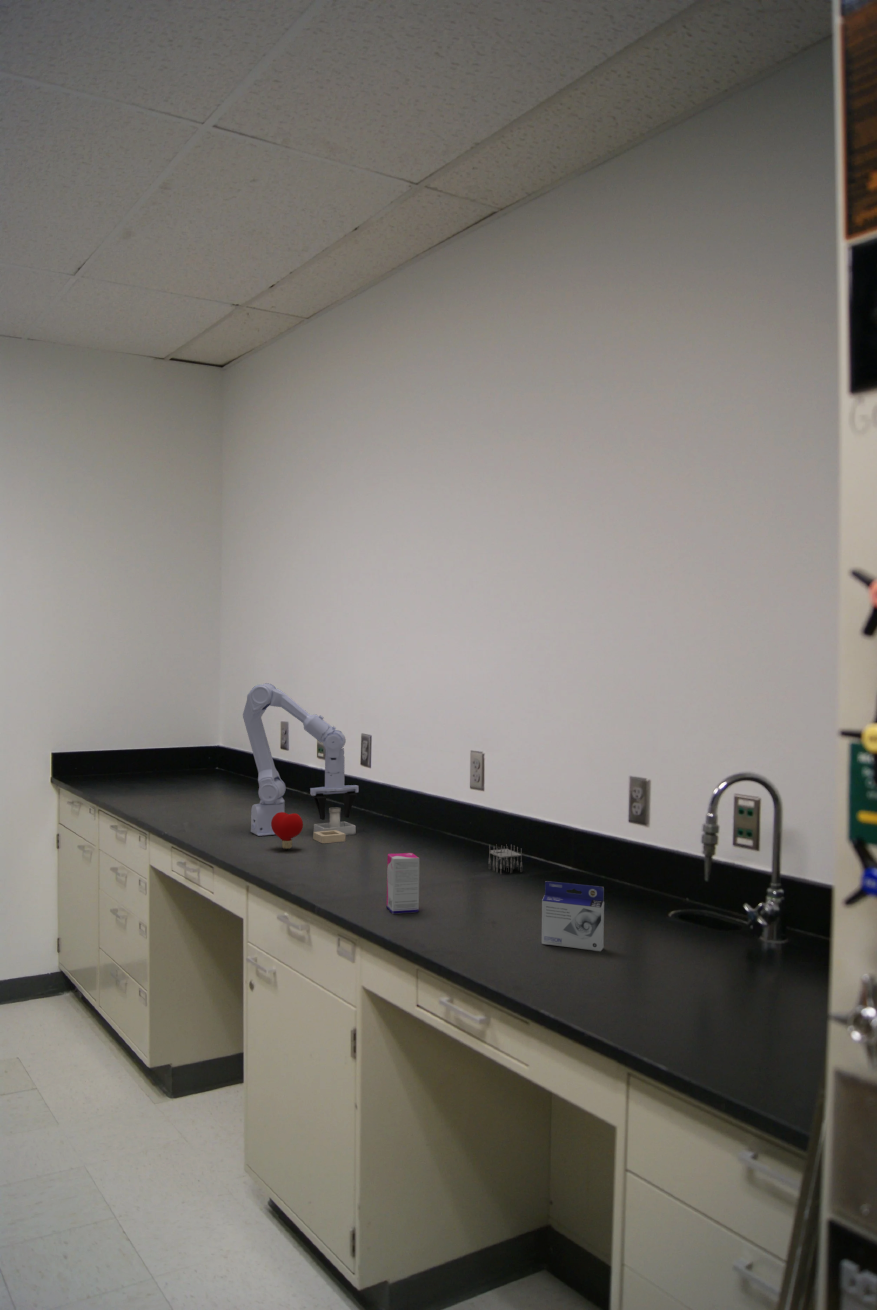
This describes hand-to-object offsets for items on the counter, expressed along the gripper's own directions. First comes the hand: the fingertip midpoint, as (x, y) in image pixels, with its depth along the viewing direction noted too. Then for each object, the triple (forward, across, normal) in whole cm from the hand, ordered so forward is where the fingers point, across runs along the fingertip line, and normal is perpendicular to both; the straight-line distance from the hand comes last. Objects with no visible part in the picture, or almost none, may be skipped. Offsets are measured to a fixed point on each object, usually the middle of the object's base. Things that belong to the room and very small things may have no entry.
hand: (334, 818), depth 286 cm
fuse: (+4, 0, 0) cm, 4 cm away
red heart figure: (+5, -20, -16) cm, 26 cm away
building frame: (+5, +20, -62) cm, 66 cm away
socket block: (+4, -5, -8) cm, 11 cm away
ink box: (+5, -1, -120) cm, 121 cm away
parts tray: (+4, 0, 0) cm, 4 cm away
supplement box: (+5, -18, -84) cm, 86 cm away
